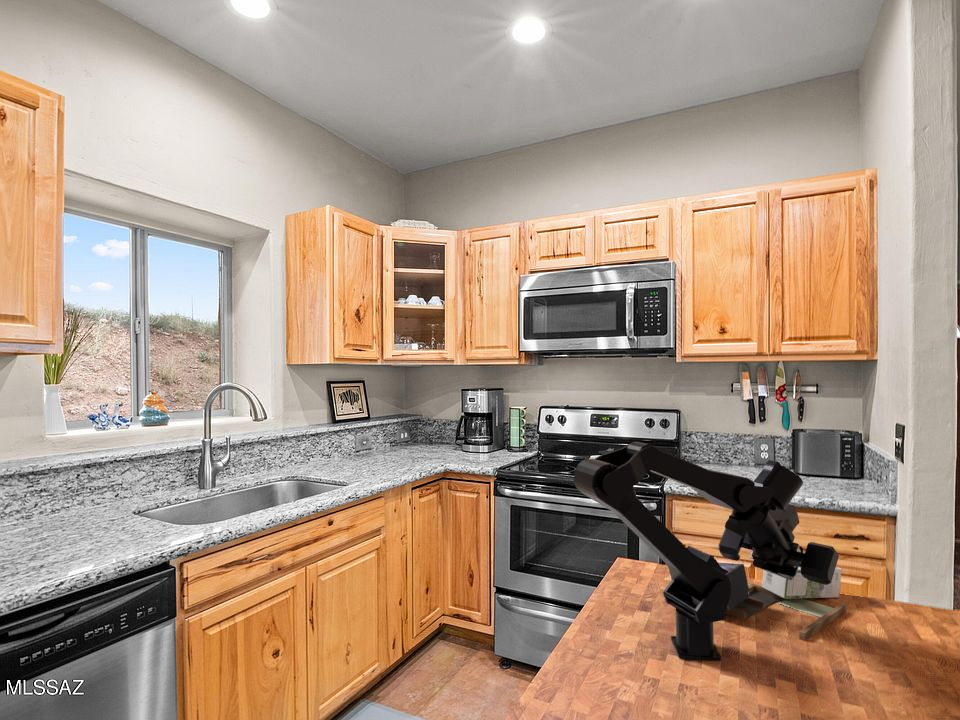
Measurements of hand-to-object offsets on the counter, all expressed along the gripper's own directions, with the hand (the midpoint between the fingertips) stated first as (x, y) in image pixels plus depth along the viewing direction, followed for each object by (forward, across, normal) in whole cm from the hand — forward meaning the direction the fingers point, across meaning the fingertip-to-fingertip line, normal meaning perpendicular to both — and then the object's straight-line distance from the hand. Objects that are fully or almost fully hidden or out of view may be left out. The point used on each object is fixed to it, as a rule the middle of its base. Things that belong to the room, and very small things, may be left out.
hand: (790, 577), depth 101 cm
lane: (+6, +3, +4) cm, 8 cm away
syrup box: (+4, +5, -1) cm, 7 cm away
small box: (-3, +17, +8) cm, 19 cm away
